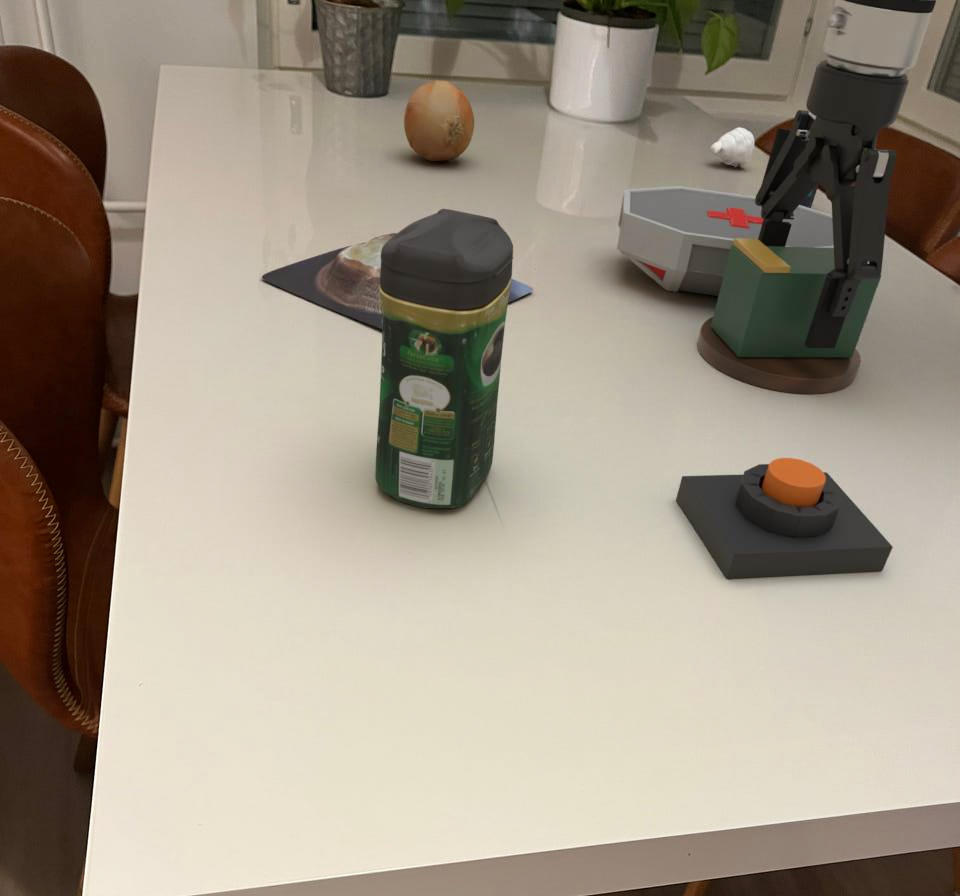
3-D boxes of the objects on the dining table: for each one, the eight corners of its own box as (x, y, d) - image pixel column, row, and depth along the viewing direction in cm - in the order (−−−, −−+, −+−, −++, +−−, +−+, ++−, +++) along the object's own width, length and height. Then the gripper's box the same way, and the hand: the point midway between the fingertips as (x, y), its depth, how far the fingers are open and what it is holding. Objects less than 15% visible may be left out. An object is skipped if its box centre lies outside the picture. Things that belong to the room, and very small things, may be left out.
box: (818, 327, 100) (847, 241, 95) (852, 358, 95) (884, 268, 89) (709, 326, 98) (732, 237, 92) (738, 358, 92) (764, 266, 87)
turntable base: (811, 325, 105) (815, 312, 104) (885, 393, 93) (891, 378, 92) (674, 324, 101) (678, 310, 100) (734, 394, 90) (738, 379, 89)
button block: (817, 496, 77) (834, 451, 75) (882, 572, 70) (902, 525, 67) (675, 500, 75) (687, 454, 72) (726, 580, 67) (741, 531, 65)
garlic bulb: (699, 161, 153) (707, 123, 149) (730, 161, 155) (739, 123, 152) (718, 172, 149) (727, 133, 146) (750, 171, 151) (760, 132, 148)
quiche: (536, 292, 104) (541, 254, 102) (411, 345, 91) (413, 303, 89) (388, 238, 113) (389, 201, 110) (256, 279, 100) (253, 239, 97)
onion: (430, 174, 134) (435, 92, 128) (388, 154, 140) (391, 74, 133) (485, 167, 139) (492, 88, 133) (442, 148, 145) (447, 71, 138)
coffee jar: (406, 438, 78) (419, 191, 66) (501, 462, 76) (532, 214, 65) (357, 497, 71) (361, 232, 59) (461, 524, 69) (487, 258, 57)
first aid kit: (609, 297, 105) (843, 330, 104) (623, 225, 100) (867, 259, 100) (613, 244, 119) (819, 273, 118) (624, 178, 114) (840, 208, 113)
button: (802, 477, 72) (810, 456, 71) (828, 507, 69) (836, 486, 68) (752, 479, 71) (759, 457, 70) (776, 509, 68) (783, 487, 67)
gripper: (760, 32, 89) (703, 267, 103) (903, 99, 71) (810, 374, 85) (835, 38, 91) (768, 269, 104) (992, 105, 73) (887, 374, 86)
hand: (787, 316), depth 95 cm, fingers open, 13 cm apart
